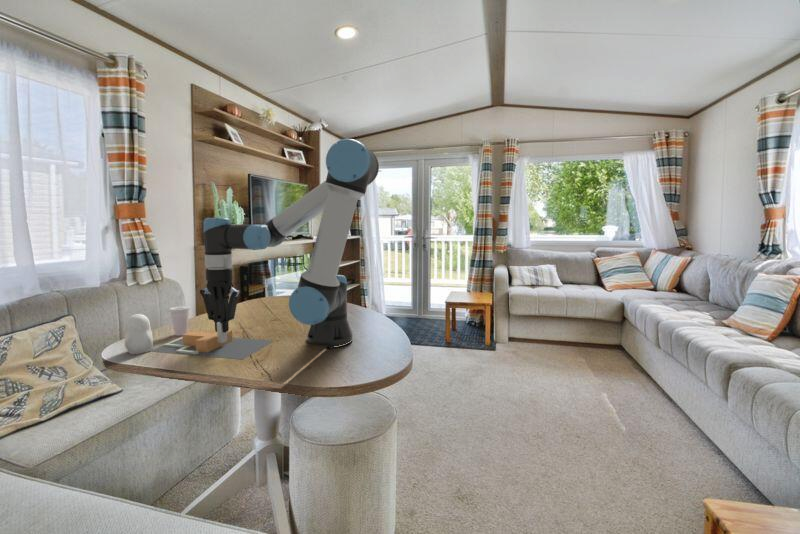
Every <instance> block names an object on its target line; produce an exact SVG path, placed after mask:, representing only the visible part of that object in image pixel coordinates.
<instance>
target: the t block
mask: <svg viewBox="0 0 800 534" xmlns="http://www.w3.org/2000/svg"><path fill="white" fill-rule="evenodd" d="M182 337H183V345H189V346H196V351H199V352H210V351H212V350H214V349H216V348H218V347H220V346H222V345H224V344H226V343H228V342H230V341H232V340H233V339H232V337H233V330H232V329H229V330H228V331H227V341H225V342H223V343H218V339H217V332H216V331H214V332H208V331H207V332H206V331H189V332H187V333H186V334H183V335H182Z"/></svg>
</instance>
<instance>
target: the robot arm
mask: <svg viewBox="0 0 800 534" xmlns="http://www.w3.org/2000/svg"><path fill="white" fill-rule="evenodd" d="M379 163H380V162H379V159H378V158H377V156H376V154H375V153H374V152H373V151H372V150H371V149H369V148H368V147H367V146H366V144H364V143H362V142H361V141H358V140H356V139H353V138H343V139H340V140H338V141H336V142H335V143H332V145H330V148H329V149H328V151H327V152H326V156H325V166H326V169H327V175H326V178H325V180H324V181H323V182H322V183H320V184H319V185H318V186H316V187H315V188H313V189H311V190H310V191H309V192H307V193H306V194H304V195H303V196H302V197H300V198H298V199H297V200H296V201H295V202H293V203H292V204H291V205H289V206H288V207H286V208H285V209H284V210H282V211H280V212H279V213H278V214H277V215H276V214H275V216H274V217H272V218H271V219H269V220H268V221H266V222H265V223H262V224H257V223H255V224H254V223H253V224H234V223H233V224H232V222H231V219H230V218H228V217H206V218H204V220H203V231H202V233H203V234H202V235H203V243H204V244H203V245H204V265H205V266H204V267H205V268H206V269H205V280H206V281H207V282H206V287H205V288H202V289H200V290H199V294H200V296H201V297H202V299H203V303H204V306H205V310H206V311H205V312H206V315H207V318H208V320H210V321H213V322H214V330H215V331H214V332H217V339H218V343H223V342H225V341H227V331H228V330H230V327H229V326H230V325H229V324H230V323H229V321H232V320H234V319H235V315H236V310H237V305H238V300H239V296H240V294H241V293H242V291H241V290H239V289H238V290H237V289H236V288H234V284H233V278H234V276H233V274H234V273H233V268H231V267H232V266H233V259H232V258H233V256H232V255H233V254H232V252H233V251H232V250H252V251H257V250H258V251H259V250H261V251H262V250H265V249H267V248H273V247H277V246H279V245H281V244H283V242H284V241H285V239H286V238H287V237H288V236H289V235H291V234H293V233H294V232H295V231H297V230H298V229H300V228H302V226H305V225H306V224H307V223H309V222H310V221H311V220H314V218H316V217H317V216H319V215H320V214H321V213H322V215H321V219H320V223H319V227H318V229H317V235H316V238H315V241H314V246H313V250H312V252H311V257H310V261H309V265H308V269H307V270H305V271H303V272H302V273H301V274H300V278H299V282H298V285H297V288H295V289H294V290H293V292H292V293H291V295H290V296H289V298H288V310H289V312H290V314H292V316H293V318H294V319H295V320H296V321H297V322H299V323H300V324H303V325H305V326H306V325H308V326H309V329H308V333H307V336H306V338H307V339H306V341H307V343H309V345H310V344H311V345H313V346H317V347H318V346H320V347H334V346H339V345H343V344H346V343H348V342H350V341H351V340H352V341H353V332H352V330H351V327H350V323H349V320H348V281H347V280H348V279H347V277H346V276H345V275H343V274H338V273H339V269H340V266H341V262H342V258H343V255H344V252H345V247H346V244H347V240H348V238H349V237H348V236H349V232H350V229H351V225H352V221H353V219H354V214H355V211H356V208H357V204H358V200H359V199H361V198H362V197H364V196H365V195H366V192H367V189H368V186H369V185H371V184H372V183H373V182H375V180H376V178H377V176H378V174H379V170H380V164H379Z"/></svg>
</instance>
